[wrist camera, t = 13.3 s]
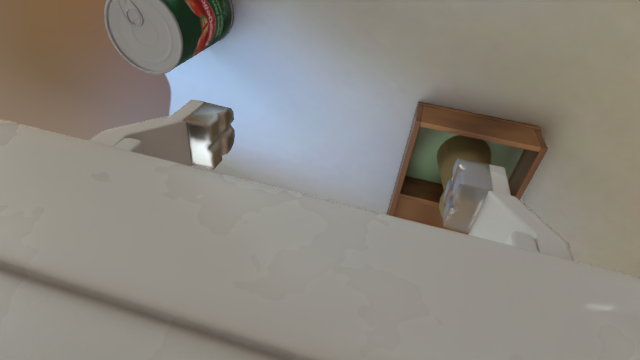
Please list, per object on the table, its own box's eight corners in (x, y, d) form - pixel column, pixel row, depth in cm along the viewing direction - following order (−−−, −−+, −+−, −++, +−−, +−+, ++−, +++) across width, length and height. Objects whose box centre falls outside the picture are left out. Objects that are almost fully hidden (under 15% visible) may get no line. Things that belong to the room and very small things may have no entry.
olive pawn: (498, 169, 45) (511, 232, 36) (448, 184, 48) (448, 246, 39) (480, 126, 43) (489, 184, 34) (428, 145, 46) (424, 202, 37)
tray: (539, 126, 42) (547, 148, 38) (474, 251, 54) (476, 277, 51) (418, 101, 44) (415, 120, 40) (382, 227, 56) (378, 250, 52)
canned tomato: (246, 27, 44) (197, 59, 36) (195, 52, 48) (140, 85, 39) (208, -46, 41) (144, -30, 32) (157, -14, 44) (87, 8, 36)
